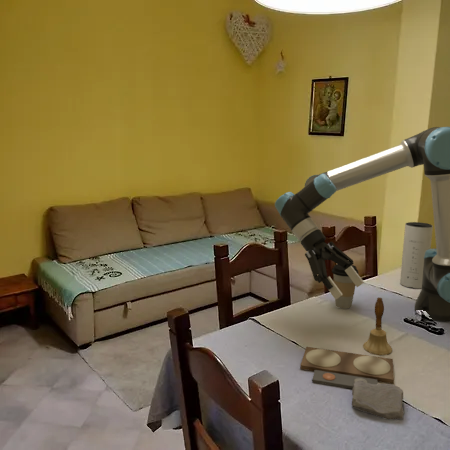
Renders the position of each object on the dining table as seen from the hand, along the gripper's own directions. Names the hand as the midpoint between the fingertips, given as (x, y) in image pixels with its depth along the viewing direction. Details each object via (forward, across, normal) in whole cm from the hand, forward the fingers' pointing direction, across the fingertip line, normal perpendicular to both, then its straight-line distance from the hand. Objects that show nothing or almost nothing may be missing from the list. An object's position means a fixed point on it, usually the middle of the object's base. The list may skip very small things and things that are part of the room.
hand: (350, 290), depth 136 cm
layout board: (+16, +15, -6) cm, 23 cm away
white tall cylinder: (+9, -62, -13) cm, 64 cm away
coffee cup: (+2, -23, -21) cm, 31 cm away
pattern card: (+19, +23, -3) cm, 30 cm away
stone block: (+27, +26, +4) cm, 38 cm away
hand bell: (+18, 0, -5) cm, 19 cm away
